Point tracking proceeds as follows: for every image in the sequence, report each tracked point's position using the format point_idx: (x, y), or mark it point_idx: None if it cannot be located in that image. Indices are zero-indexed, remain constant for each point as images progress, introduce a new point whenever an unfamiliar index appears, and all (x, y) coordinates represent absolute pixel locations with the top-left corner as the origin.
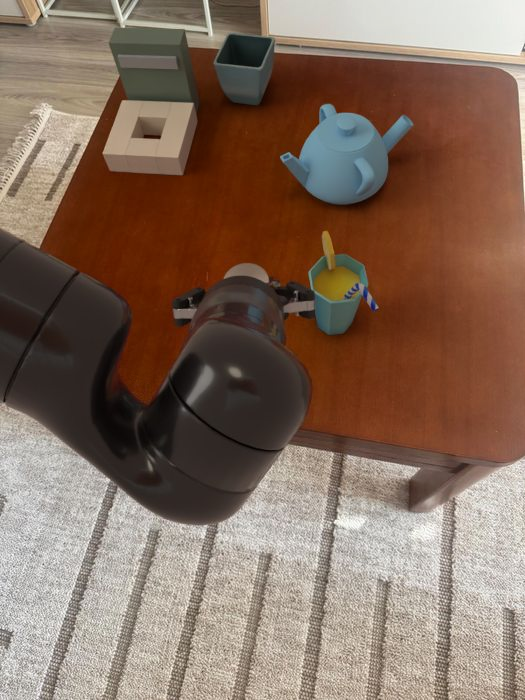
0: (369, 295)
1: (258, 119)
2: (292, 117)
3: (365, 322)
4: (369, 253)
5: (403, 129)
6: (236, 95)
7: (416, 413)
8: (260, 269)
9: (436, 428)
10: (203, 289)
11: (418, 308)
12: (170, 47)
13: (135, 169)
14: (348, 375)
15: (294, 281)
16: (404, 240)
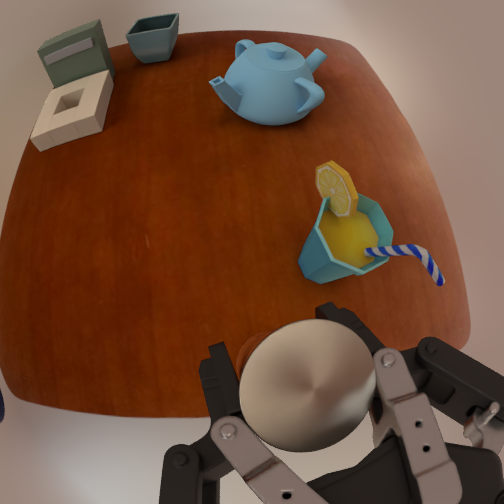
0: (435, 264)
1: (169, 69)
2: (201, 62)
3: None
4: None
5: (321, 58)
6: (147, 56)
7: (416, 341)
8: (340, 332)
9: None
10: (199, 466)
11: None
12: (86, 32)
13: (59, 141)
14: None
15: (437, 343)
16: (351, 156)
